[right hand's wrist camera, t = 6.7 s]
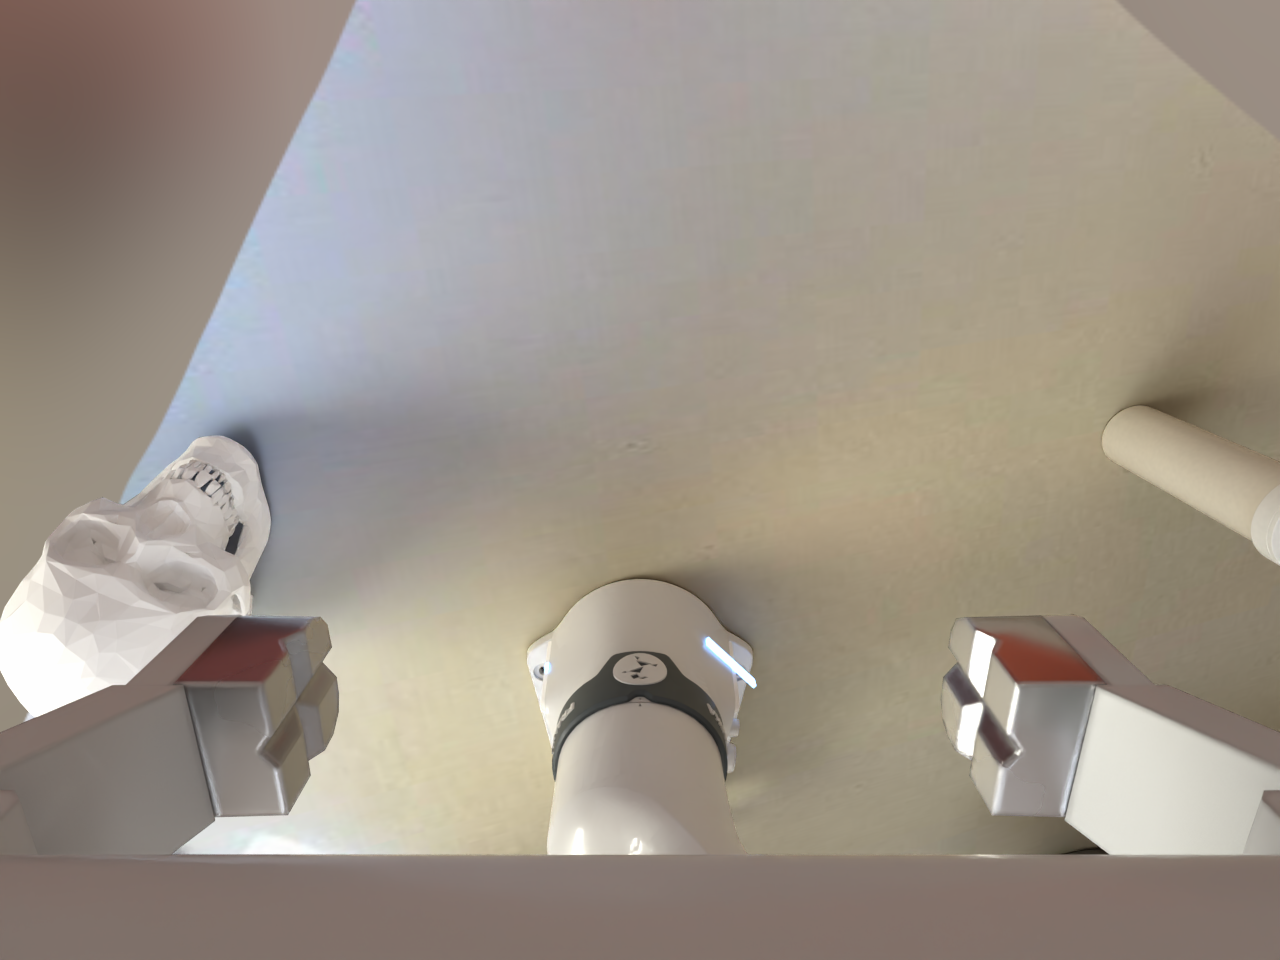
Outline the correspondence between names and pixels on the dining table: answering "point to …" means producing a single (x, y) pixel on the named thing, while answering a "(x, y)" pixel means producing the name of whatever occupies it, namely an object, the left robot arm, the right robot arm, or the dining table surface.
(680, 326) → the dining table surface
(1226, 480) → the beige cylinder
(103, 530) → the skull
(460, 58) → the dining table surface
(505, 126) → the dining table surface
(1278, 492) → the lid
